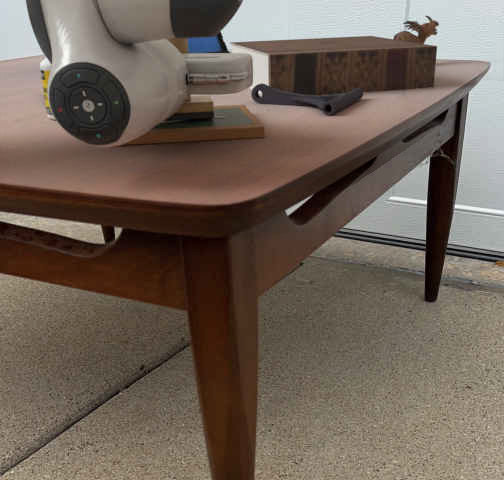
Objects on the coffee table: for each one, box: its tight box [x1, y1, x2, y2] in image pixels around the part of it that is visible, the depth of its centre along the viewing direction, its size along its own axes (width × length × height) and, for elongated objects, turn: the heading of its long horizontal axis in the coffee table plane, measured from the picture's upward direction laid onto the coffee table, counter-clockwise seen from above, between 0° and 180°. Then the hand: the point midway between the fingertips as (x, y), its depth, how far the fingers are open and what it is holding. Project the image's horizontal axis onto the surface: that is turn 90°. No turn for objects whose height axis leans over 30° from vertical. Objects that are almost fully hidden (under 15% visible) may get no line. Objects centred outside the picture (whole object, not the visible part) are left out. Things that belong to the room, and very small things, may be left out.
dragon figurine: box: [392, 15, 440, 44], centre depth 138 cm, size 14×6×9 cm, turn 136°
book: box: [228, 35, 438, 95], centre depth 119 cm, size 24×28×6 cm
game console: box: [188, 30, 231, 54], centre depth 148 cm, size 16×14×9 cm
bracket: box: [250, 83, 364, 116], centre depth 99 cm, size 14×15×3 cm
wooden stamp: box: [164, 38, 215, 121], centre depth 83 cm, size 8×5×10 cm, turn 99°
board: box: [121, 104, 266, 146], centre depth 86 cm, size 18×16×1 cm
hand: (178, 65), depth 84 cm, fingers closed on wooden stamp, 3 cm apart
